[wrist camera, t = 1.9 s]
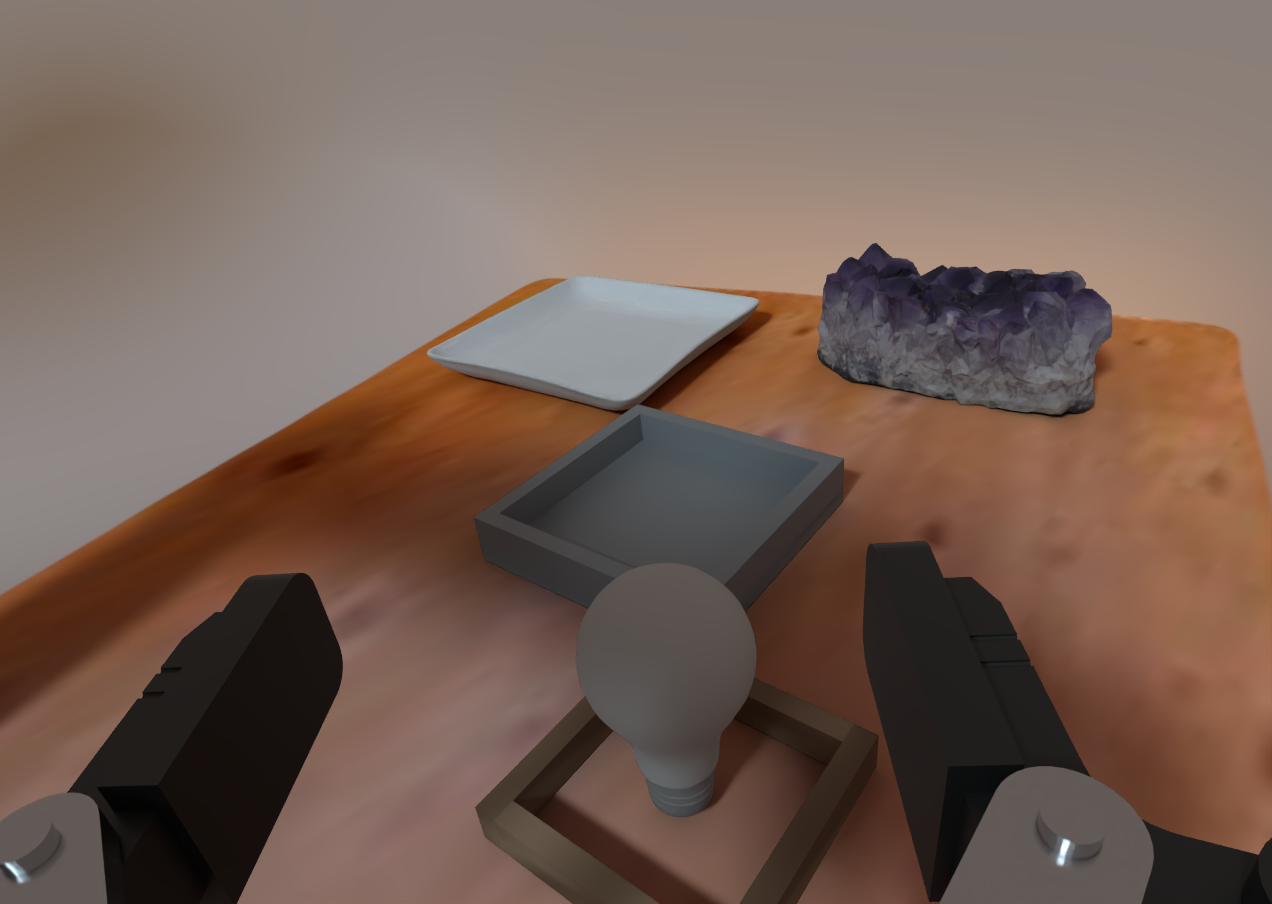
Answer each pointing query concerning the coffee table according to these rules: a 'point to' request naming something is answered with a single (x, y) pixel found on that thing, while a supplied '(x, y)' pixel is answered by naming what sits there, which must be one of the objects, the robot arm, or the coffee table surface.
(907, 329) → the geode
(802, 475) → the tray
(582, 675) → the lightbulb
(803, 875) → the square wooden frame
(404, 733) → the coffee table surface
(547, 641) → the coffee table surface
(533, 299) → the salad plate
